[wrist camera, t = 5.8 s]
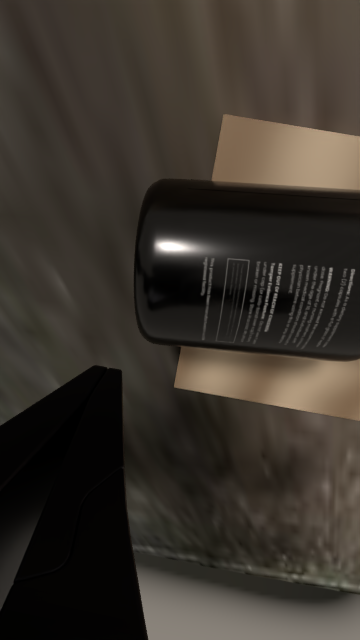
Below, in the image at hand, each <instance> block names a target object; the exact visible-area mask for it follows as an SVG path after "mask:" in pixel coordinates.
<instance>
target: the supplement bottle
mask: <svg viewBox="0 0 360 640" xmlns="http://www.w3.org/2000/svg"><path fill="white" fill-rule="evenodd" d="M134 303H135V314H136V320H137V325H138V328H139V331H140V333H141V335H142V336H143V337H144V338H145V339H146V340H147V341H149V342H151V343H153V344H158V345H167V346H177V347H185V348H195V349H206V350H216V351H227V352H237V353H248V354H258V355H269V356H279V357H290V358H300V359H311V360H321V361H335V362H349V361H355V360H359V359H360V190H353V189H338V188H321V187H305V186H289V185H273V184H257V183H241V182H225V181H208V180H192V179H191V180H187V179H161V180H158V181H157V182H155V183H153V184H152V185H151V186H150V187H149V188H148V190H147V192H146V194H145V197H144V200H143V203H142V207H141V211H140V216H139V221H138V228H137V236H136V245H135V259H134Z"/></svg>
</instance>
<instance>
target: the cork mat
mask: <svg viewBox="0 0 360 640" xmlns="http://www.w3.org/2000/svg"><path fill="white" fill-rule="evenodd" d="M212 181H225V182H241V183H257V184H273V185H289V186H305V187H321V188H338V189H353V190H360V137H358V136H352V135H346V134H340V133H334V132H328V131H322V130H316V129H310V128H304V127H298V126H292V125H286V124H280V123H274V122H268V121H262V120H256V119H250V118H244V117H238V116H232V115H226V114H224V115H223V120H222V126H221V131H220V137H219V142H218V148H217V153H216V159H215V164H214V170H213V175H212ZM174 387H175V388H181V389H186V390H192V391H197V392H203V393H208V394H214V395H219V396H225V397H231V398H236V399H242V400H247V401H253V402H258V403H264V404H269V405H275V406H281V407H286V408H292V409H297V410H303V411H308V412H314V413H319V414H325V415H331V416H336V417H342V418H347V419H353V420H358V421H360V359H359V360H355V361H349V362H335V361H321V360H311V359H300V358H290V357H279V356H269V355H258V354H248V353H237V352H227V351H216V350H206V349H195V348H185V347H181V351H180V356H179V362H178V367H177V373H176V378H175V384H174Z"/></svg>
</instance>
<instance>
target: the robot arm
mask: <svg viewBox="0 0 360 640" xmlns="http://www.w3.org/2000/svg"><path fill="white" fill-rule="evenodd" d="M0 640H148V636H147V630H146V625H145V619H144V613H143V607H142V601H141V595H140V589H139V583H138V577H137V572H136V565H135V559H134V553H133V547H132V541H131V535H130V527H129V520H128V512H127V501H126V486H125V458H124V424H123V389H122V371H121V370H119V369H114V368H109V369H108V368H107V367H103V366H97V365H95V366H92V367H91V368H89V369H87V370H86V371H84V372H83V373H81V374H80V375H78V376H77V377H75V378H74V379H72V380H70V381H69V382H67V383H66V384H64V385H63V386H61V387H60V388H58V389H57V390H55V391H53V392H52V393H50V394H49V395H47V396H46V397H44V398H43V399H41V400H40V401H38V402H36V403H35V404H33V405H32V406H30V407H29V408H27V409H26V410H24V411H23V412H21V413H19V414H18V415H16V416H15V417H13V418H12V419H10V420H9V421H7V422H6V423H4V424H2V425H1V426H0Z"/></svg>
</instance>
